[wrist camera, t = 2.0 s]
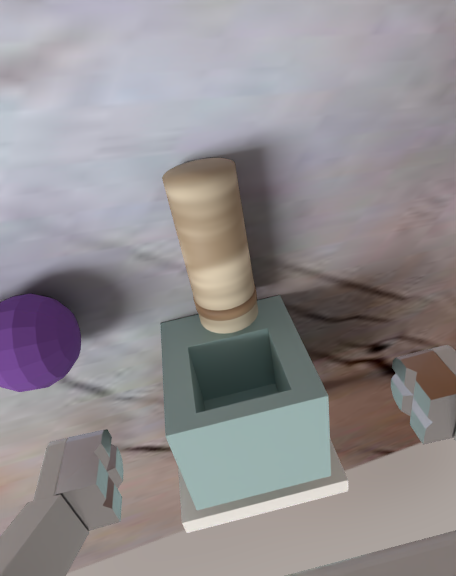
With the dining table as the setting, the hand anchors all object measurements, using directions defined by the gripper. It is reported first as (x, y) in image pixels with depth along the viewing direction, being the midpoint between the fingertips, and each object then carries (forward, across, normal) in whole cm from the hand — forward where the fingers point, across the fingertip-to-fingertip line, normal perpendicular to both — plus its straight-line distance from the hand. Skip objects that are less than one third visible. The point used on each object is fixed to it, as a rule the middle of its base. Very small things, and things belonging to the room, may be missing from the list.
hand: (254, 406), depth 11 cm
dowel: (+16, 0, +3) cm, 17 cm away
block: (+16, 0, +13) cm, 21 cm away
